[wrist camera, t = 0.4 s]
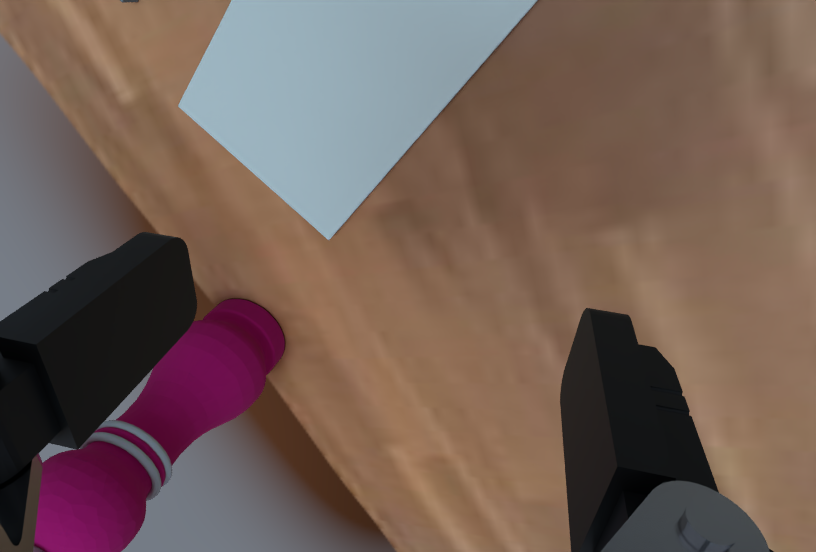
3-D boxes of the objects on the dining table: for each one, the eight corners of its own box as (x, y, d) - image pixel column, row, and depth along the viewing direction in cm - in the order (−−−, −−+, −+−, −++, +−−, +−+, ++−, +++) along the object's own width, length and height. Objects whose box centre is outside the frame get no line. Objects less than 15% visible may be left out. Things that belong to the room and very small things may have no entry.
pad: (350, -213, 22) (343, -219, 22) (545, -9, 24) (544, -9, 23) (186, 103, 32) (178, 106, 31) (333, 235, 33) (328, 240, 33)
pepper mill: (271, 287, 37) (15, 537, 20) (304, 369, 40) (106, 646, 23) (192, 296, 39) (-93, 524, 23) (229, 372, 42) (1, 624, 26)
